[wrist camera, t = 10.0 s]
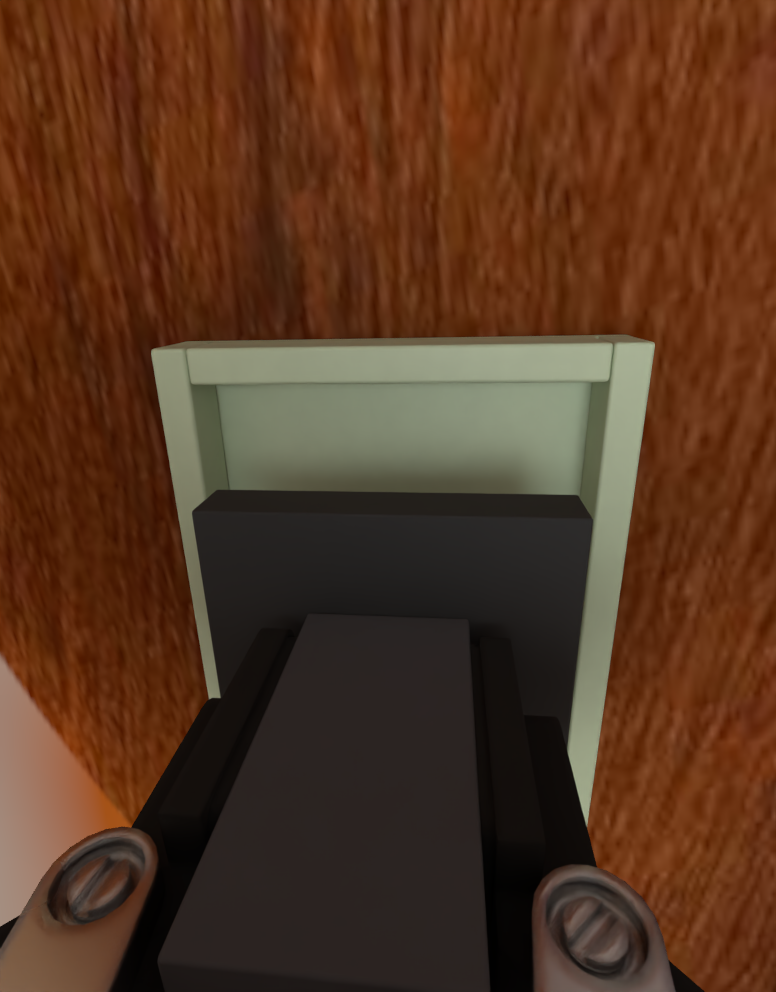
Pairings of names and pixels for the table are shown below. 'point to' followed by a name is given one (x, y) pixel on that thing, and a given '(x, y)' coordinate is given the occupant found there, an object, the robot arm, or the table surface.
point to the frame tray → (421, 445)
